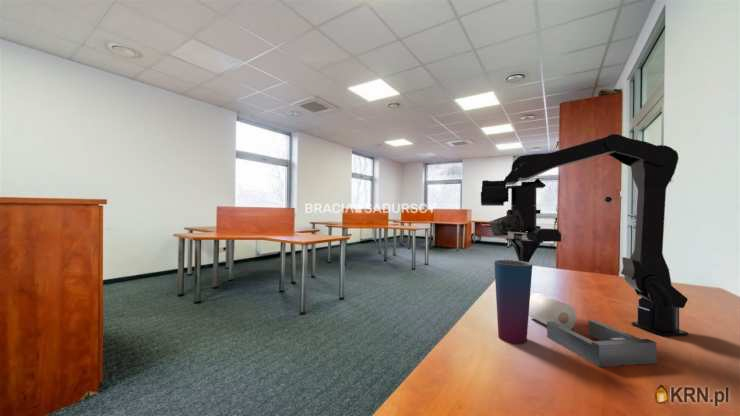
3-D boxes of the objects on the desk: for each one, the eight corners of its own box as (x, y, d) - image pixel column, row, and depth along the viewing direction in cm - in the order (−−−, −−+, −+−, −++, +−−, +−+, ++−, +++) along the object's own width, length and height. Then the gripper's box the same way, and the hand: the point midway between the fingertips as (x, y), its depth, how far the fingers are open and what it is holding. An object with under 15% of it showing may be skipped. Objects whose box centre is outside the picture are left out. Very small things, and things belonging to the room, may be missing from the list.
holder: (594, 334, 59) (594, 317, 59) (656, 363, 48) (656, 341, 48) (547, 336, 58) (547, 318, 58) (599, 366, 47) (599, 344, 47)
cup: (537, 348, 53) (537, 266, 53) (497, 344, 54) (498, 264, 55) (525, 333, 60) (525, 260, 60) (490, 330, 61) (491, 259, 61)
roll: (524, 318, 68) (524, 293, 68) (547, 317, 69) (547, 292, 69) (550, 333, 60) (550, 304, 60) (576, 331, 61) (576, 303, 61)
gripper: (476, 206, 82) (475, 260, 82) (517, 204, 64) (517, 274, 63) (512, 206, 84) (512, 260, 83) (563, 205, 65) (563, 274, 65)
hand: (523, 266), depth 74 cm, fingers closed
